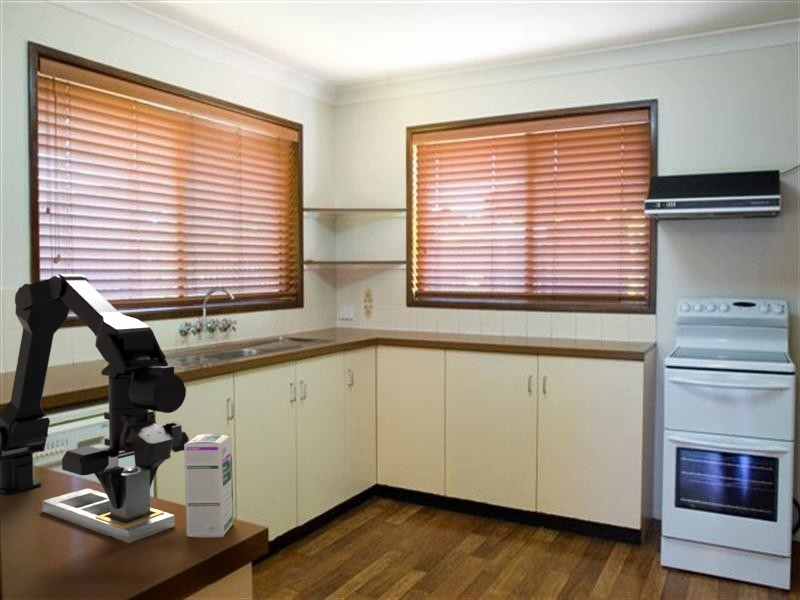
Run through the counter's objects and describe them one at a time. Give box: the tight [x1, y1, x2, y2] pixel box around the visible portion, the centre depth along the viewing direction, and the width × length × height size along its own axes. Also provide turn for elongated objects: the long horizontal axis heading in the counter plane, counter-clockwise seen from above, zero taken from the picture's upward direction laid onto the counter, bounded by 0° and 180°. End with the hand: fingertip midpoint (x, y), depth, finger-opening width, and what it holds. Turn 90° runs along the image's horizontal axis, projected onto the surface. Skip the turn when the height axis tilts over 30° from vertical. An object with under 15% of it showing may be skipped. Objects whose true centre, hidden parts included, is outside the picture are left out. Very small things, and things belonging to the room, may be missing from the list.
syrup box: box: [183, 433, 235, 538], centre depth 102 cm, size 6×6×14 cm
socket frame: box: [41, 487, 175, 544], centre depth 107 cm, size 24×8×2 cm, turn 56°
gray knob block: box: [109, 464, 151, 523], centre depth 104 cm, size 4×4×8 cm
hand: (130, 504), depth 104 cm, fingers open, 4 cm apart
